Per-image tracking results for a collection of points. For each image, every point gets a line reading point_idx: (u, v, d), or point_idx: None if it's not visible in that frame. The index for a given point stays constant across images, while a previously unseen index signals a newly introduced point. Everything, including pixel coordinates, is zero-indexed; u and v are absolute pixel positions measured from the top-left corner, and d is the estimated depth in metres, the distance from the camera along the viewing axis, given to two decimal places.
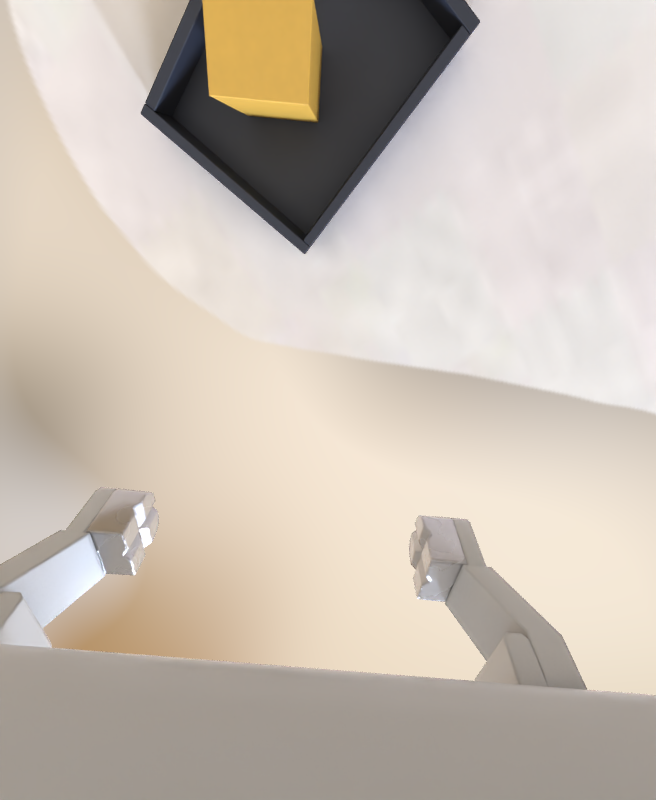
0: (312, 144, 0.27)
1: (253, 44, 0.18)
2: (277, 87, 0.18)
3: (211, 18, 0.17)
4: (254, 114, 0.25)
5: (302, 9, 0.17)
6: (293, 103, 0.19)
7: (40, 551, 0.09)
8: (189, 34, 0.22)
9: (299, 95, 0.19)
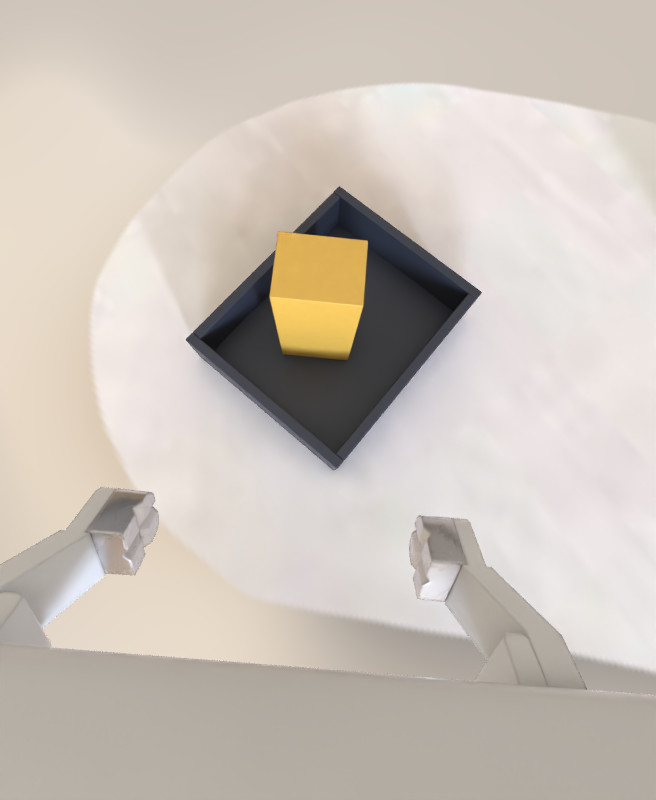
0: (342, 376, 0.28)
1: (316, 266, 0.20)
2: (334, 293, 0.20)
3: (282, 250, 0.20)
4: (291, 348, 0.27)
5: (359, 248, 0.21)
6: (349, 305, 0.20)
7: (40, 551, 0.09)
8: (246, 291, 0.26)
9: (355, 299, 0.20)
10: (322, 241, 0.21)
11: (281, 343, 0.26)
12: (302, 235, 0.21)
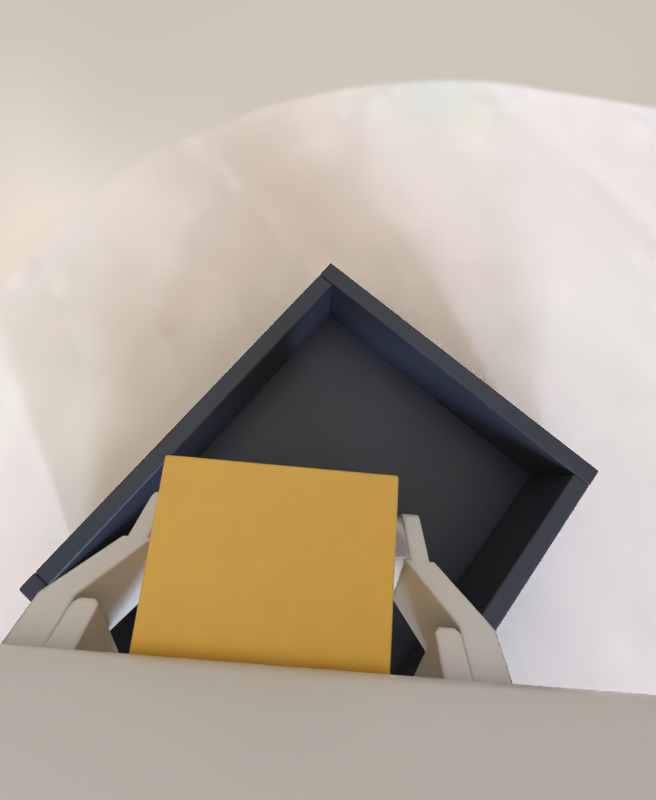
0: None
1: (262, 560, 0.08)
2: (310, 648, 0.07)
3: (172, 513, 0.08)
4: None
5: (377, 501, 0.08)
6: None
7: (108, 557, 0.09)
8: (150, 478, 0.14)
9: (366, 666, 0.07)
10: (279, 481, 0.08)
11: None
12: (228, 466, 0.08)
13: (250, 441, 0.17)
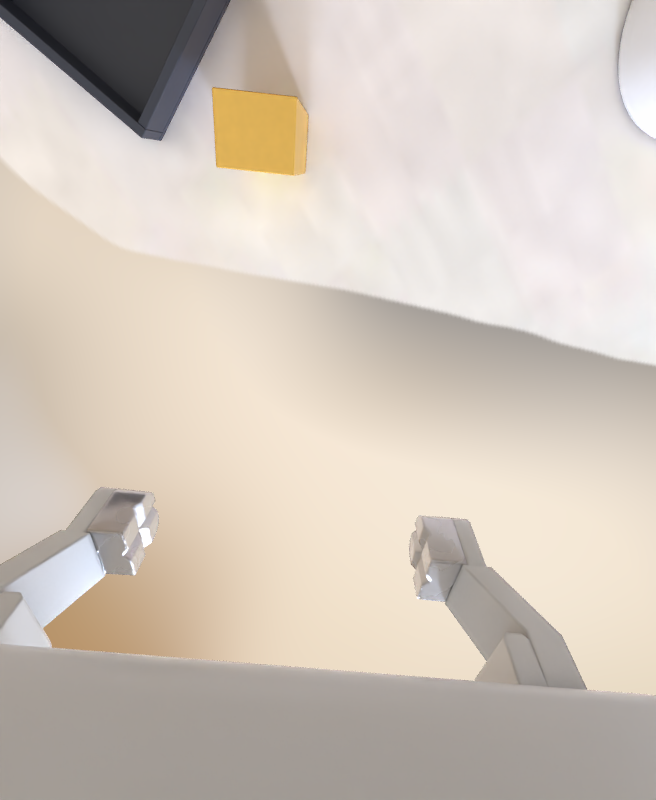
0: (143, 21, 0.27)
1: (251, 131, 0.23)
2: (269, 162, 0.24)
3: (219, 112, 0.23)
4: None
5: (289, 107, 0.22)
6: (282, 173, 0.24)
7: (40, 551, 0.09)
8: None
9: (287, 168, 0.24)
10: (254, 99, 0.22)
11: None
12: (235, 92, 0.22)
13: None
